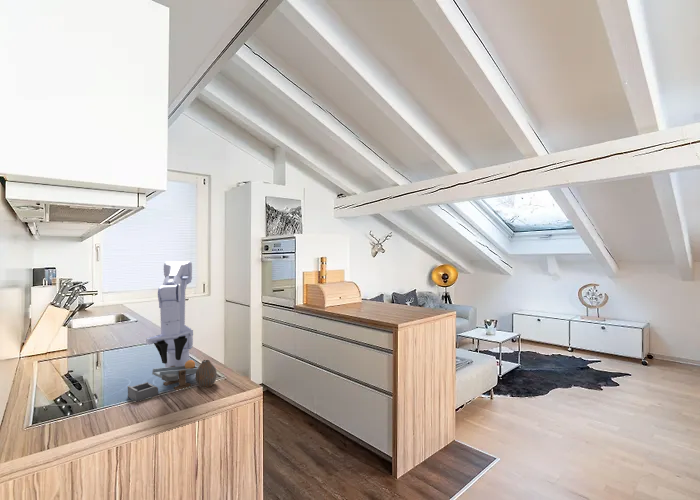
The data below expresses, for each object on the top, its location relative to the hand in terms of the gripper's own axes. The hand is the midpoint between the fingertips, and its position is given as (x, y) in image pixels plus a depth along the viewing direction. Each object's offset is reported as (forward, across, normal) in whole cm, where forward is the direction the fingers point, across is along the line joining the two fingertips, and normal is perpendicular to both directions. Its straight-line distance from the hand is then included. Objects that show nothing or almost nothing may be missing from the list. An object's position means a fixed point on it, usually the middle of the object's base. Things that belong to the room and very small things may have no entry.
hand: (171, 361), depth 120 cm
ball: (+4, +9, +5) cm, 11 cm away
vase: (+11, +10, -4) cm, 15 cm away
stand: (+10, +4, +5) cm, 12 cm away
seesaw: (+6, +3, +1) cm, 7 cm away
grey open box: (+10, -7, +5) cm, 14 cm away
